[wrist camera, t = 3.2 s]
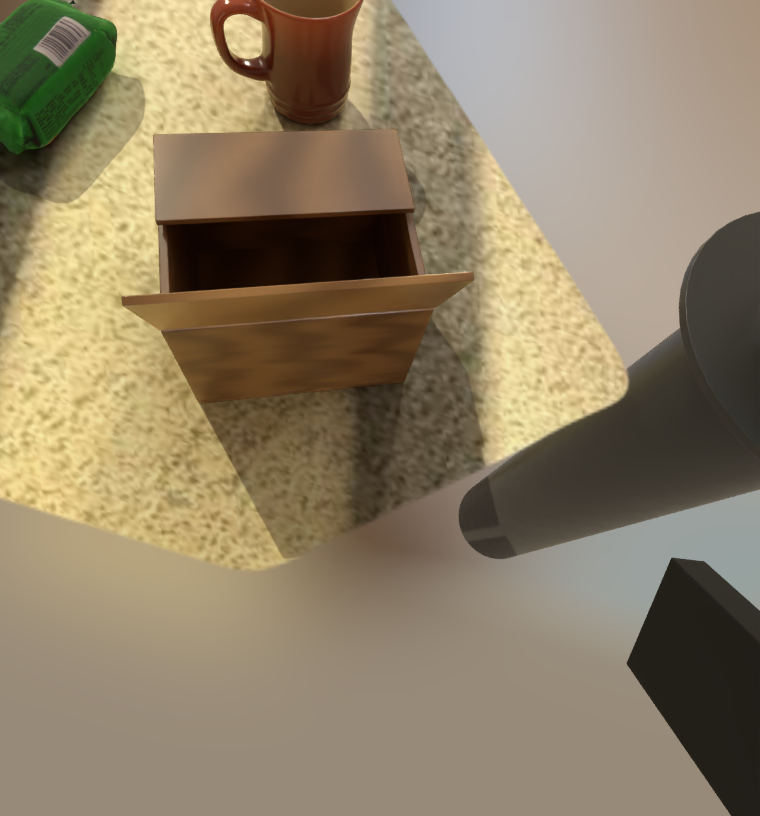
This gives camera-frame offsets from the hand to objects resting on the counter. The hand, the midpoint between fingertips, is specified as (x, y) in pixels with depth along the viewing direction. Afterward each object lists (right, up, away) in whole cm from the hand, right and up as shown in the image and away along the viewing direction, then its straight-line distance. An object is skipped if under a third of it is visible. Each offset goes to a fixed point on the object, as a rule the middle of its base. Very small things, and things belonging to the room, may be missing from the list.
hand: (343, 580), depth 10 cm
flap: (-3, +9, +16) cm, 18 cm away
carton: (-6, +10, +31) cm, 34 cm away
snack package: (-27, +30, +36) cm, 54 cm away
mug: (-7, +31, +39) cm, 51 cm away
